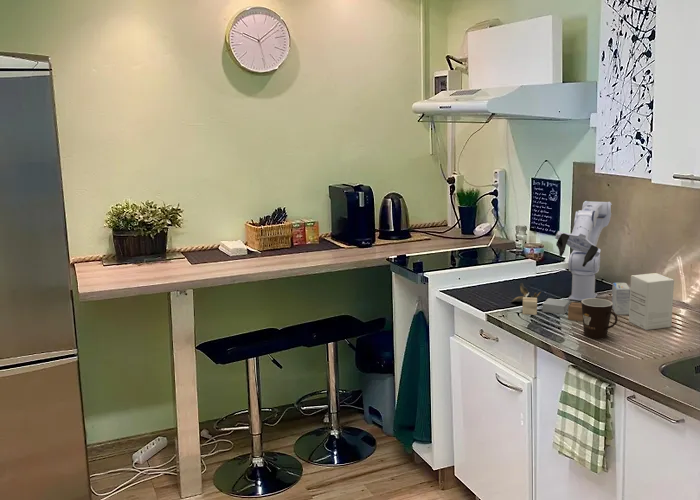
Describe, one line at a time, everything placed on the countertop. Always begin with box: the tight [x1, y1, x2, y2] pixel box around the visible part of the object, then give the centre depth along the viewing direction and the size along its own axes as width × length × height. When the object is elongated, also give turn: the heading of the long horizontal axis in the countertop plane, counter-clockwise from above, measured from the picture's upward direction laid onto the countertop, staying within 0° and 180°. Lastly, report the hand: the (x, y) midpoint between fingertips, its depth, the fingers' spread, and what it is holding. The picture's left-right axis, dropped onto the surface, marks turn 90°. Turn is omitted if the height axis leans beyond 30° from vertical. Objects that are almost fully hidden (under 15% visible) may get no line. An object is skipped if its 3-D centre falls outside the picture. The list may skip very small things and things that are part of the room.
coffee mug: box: [580, 297, 618, 340], centre depth 204 cm, size 12×9×10 cm
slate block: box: [542, 297, 571, 315], centre depth 231 cm, size 7×7×3 cm
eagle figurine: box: [510, 282, 542, 303], centre depth 238 cm, size 8×7×9 cm
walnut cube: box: [567, 301, 583, 322], centre depth 222 cm, size 4×4×4 cm
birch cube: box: [522, 297, 538, 316], centre depth 229 cm, size 4×4×4 cm
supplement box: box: [628, 272, 675, 331], centre depth 213 cm, size 9×9×15 cm
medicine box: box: [611, 282, 630, 316], centre depth 227 cm, size 8×4×9 cm, turn 168°
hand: (573, 259), depth 220 cm, fingers open, 7 cm apart
